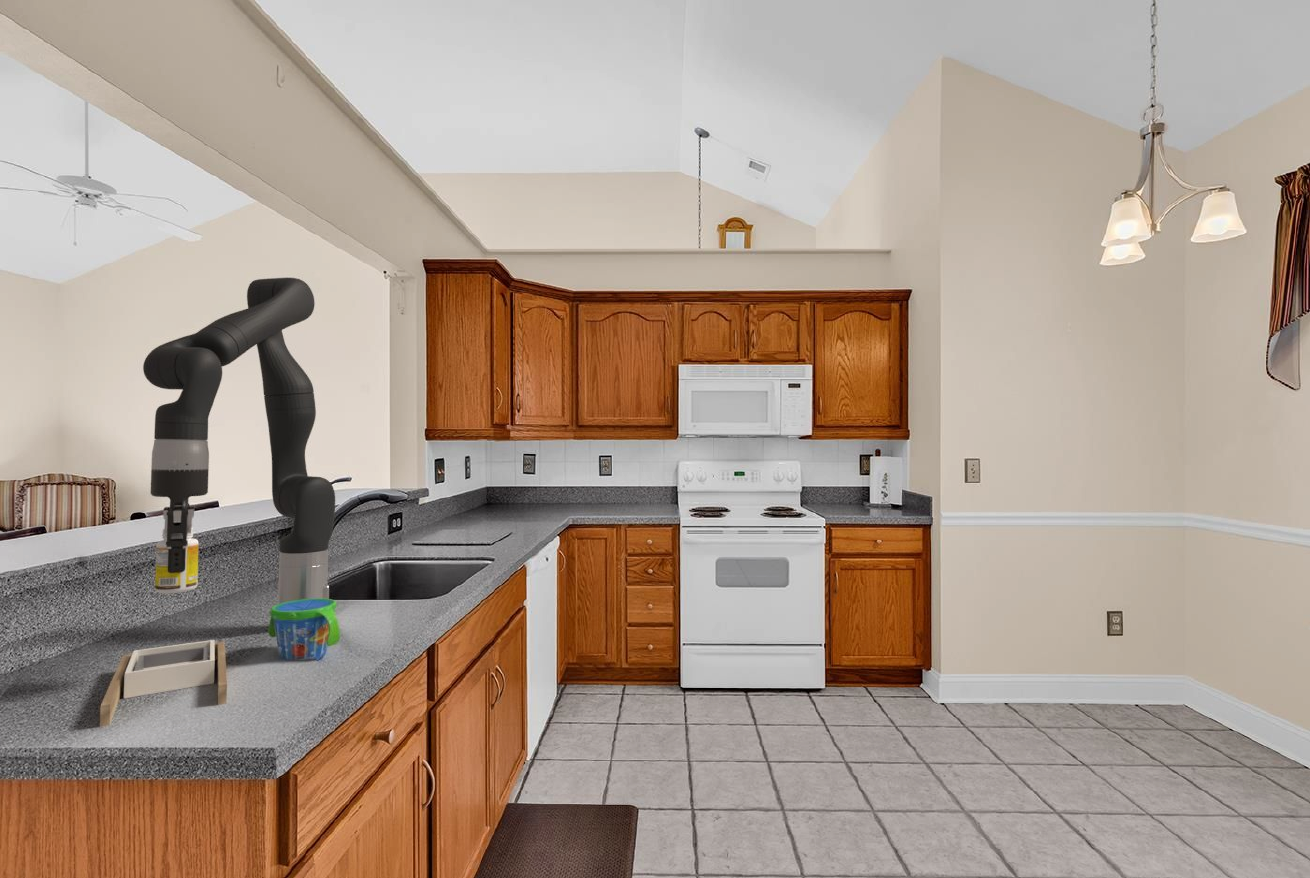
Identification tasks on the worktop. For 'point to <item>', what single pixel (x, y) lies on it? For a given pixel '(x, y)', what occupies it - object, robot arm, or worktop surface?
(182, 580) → the supplement bottle
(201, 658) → the box
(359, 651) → the worktop surface
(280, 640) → the snack cup
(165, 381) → the robot arm
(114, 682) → the bay
